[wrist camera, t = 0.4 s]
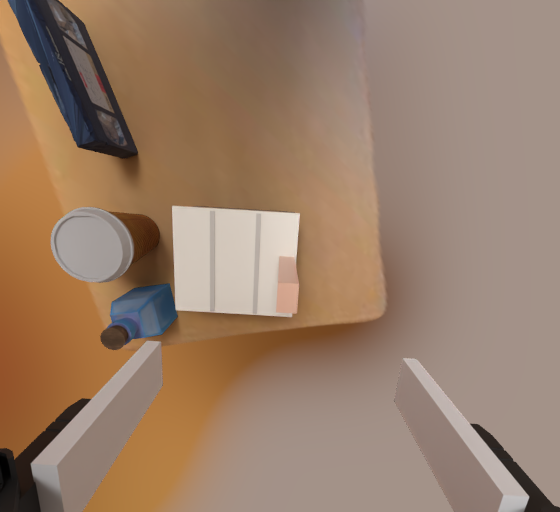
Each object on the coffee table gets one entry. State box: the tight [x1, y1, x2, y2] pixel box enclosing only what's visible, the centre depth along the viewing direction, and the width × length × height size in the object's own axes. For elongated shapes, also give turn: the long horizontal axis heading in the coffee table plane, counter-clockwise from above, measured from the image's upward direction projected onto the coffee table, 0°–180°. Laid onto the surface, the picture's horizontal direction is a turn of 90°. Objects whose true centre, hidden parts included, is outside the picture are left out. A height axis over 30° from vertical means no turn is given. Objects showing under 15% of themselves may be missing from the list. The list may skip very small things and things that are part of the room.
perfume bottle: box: [101, 283, 178, 350], centre depth 40 cm, size 6×6×12 cm
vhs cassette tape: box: [8, 0, 138, 159], centre depth 33 cm, size 18×3×10 cm, turn 17°
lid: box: [172, 206, 300, 317], centre depth 31 cm, size 15×17×13 cm
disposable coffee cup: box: [51, 207, 159, 283], centre depth 37 cm, size 10×10×12 cm
